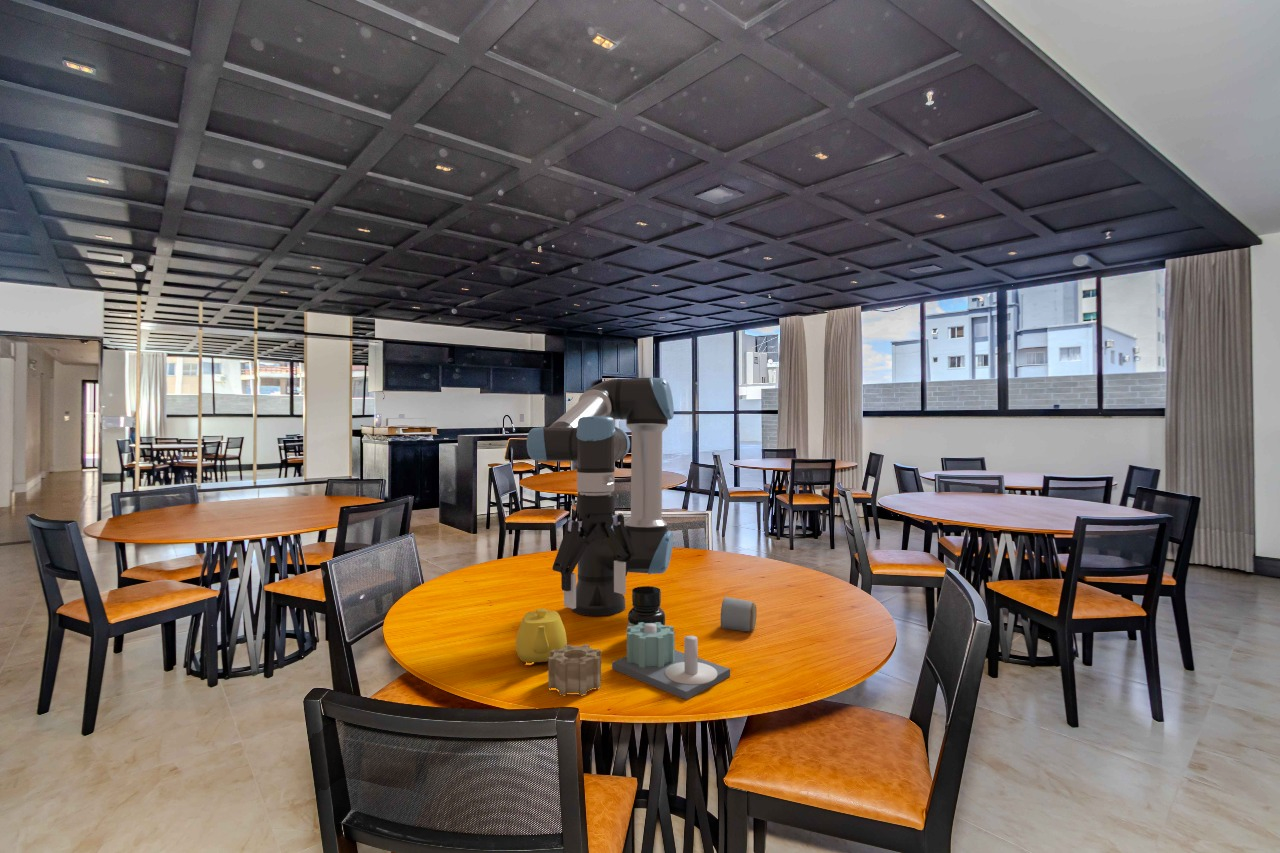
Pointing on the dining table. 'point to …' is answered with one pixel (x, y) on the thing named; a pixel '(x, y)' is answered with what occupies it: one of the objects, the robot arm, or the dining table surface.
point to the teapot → (540, 635)
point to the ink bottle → (646, 606)
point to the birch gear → (574, 669)
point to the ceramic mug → (738, 614)
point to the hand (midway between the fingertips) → (595, 599)
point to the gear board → (664, 681)
